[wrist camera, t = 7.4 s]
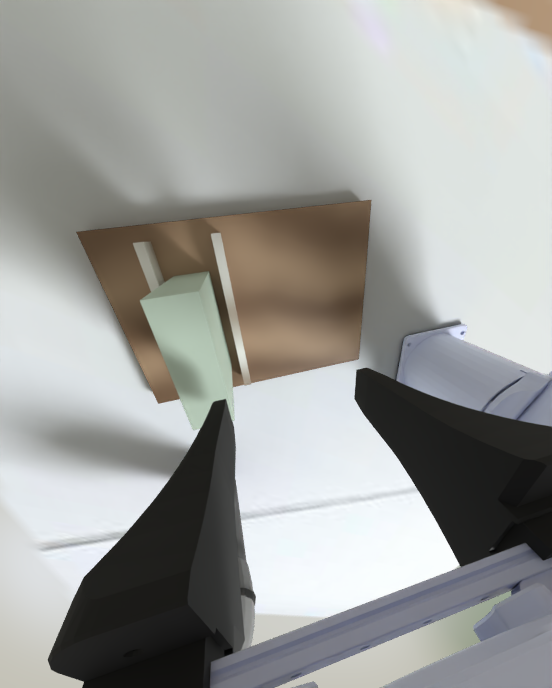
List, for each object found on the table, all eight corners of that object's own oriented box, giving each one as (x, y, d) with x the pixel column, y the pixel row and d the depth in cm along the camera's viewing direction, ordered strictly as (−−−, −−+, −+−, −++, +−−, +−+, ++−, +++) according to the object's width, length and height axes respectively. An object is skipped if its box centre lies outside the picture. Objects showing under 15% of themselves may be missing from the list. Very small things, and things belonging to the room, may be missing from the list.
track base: (352, 353, 23) (367, 366, 21) (161, 395, 21) (153, 415, 18) (362, 202, 17) (384, 196, 15) (87, 232, 14) (59, 231, 12)
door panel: (231, 362, 19) (234, 420, 13) (203, 368, 19) (193, 430, 13) (209, 271, 16) (199, 291, 10) (173, 276, 15) (139, 300, 9)
